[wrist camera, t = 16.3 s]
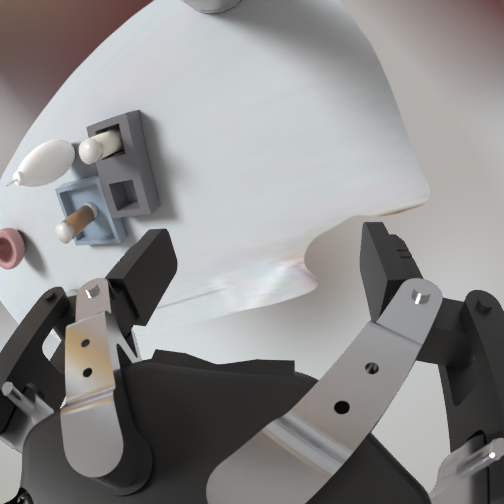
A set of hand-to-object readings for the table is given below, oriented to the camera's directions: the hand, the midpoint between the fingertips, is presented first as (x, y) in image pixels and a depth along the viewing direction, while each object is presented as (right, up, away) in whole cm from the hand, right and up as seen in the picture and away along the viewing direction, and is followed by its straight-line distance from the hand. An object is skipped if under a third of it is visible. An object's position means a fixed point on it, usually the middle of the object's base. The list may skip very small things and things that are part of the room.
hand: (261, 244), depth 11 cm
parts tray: (-34, +9, +41) cm, 54 cm away
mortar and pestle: (-71, +4, +51) cm, 87 cm away
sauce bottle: (-37, +20, +34) cm, 54 cm away
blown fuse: (-34, +8, +40) cm, 53 cm away
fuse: (-23, +20, +31) cm, 44 cm away
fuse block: (-23, +16, +34) cm, 44 cm away
